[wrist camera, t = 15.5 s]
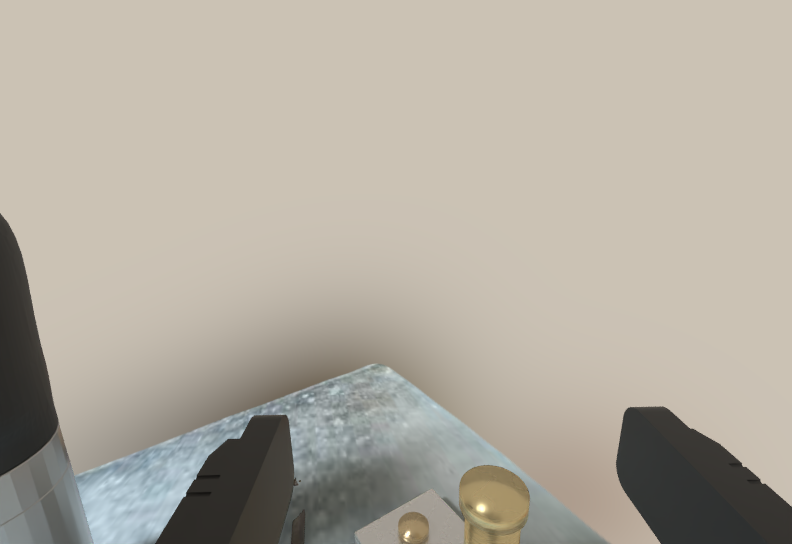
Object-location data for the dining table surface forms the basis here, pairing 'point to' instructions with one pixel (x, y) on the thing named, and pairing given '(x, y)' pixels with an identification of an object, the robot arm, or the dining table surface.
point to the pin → (493, 505)
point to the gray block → (416, 524)
